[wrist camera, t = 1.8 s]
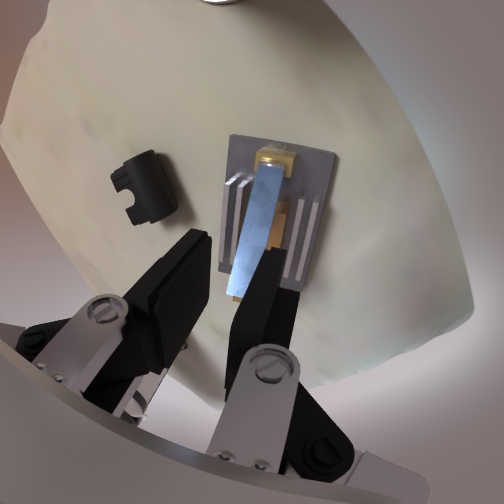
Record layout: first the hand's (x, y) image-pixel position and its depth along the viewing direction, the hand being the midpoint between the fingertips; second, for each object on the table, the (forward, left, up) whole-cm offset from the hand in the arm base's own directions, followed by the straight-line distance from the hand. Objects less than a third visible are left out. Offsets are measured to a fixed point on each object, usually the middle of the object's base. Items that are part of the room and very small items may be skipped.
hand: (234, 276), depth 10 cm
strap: (+8, -3, -21) cm, 23 cm away
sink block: (+11, -3, -31) cm, 33 cm away
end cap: (+9, -22, -31) cm, 39 cm away
